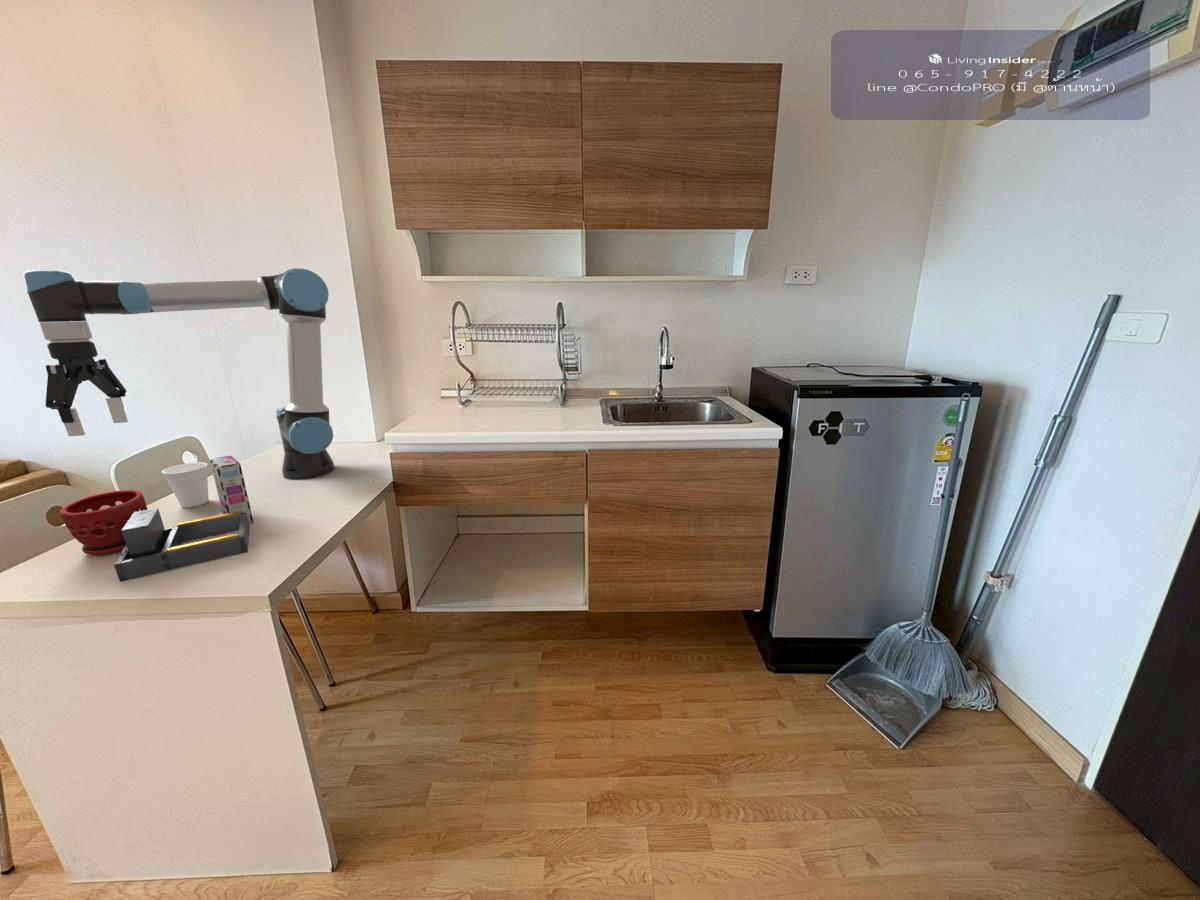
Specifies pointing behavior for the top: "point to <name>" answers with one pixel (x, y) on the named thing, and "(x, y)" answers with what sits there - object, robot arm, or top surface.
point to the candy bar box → (230, 486)
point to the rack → (177, 543)
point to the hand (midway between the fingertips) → (100, 428)
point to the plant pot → (102, 520)
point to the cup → (188, 483)
